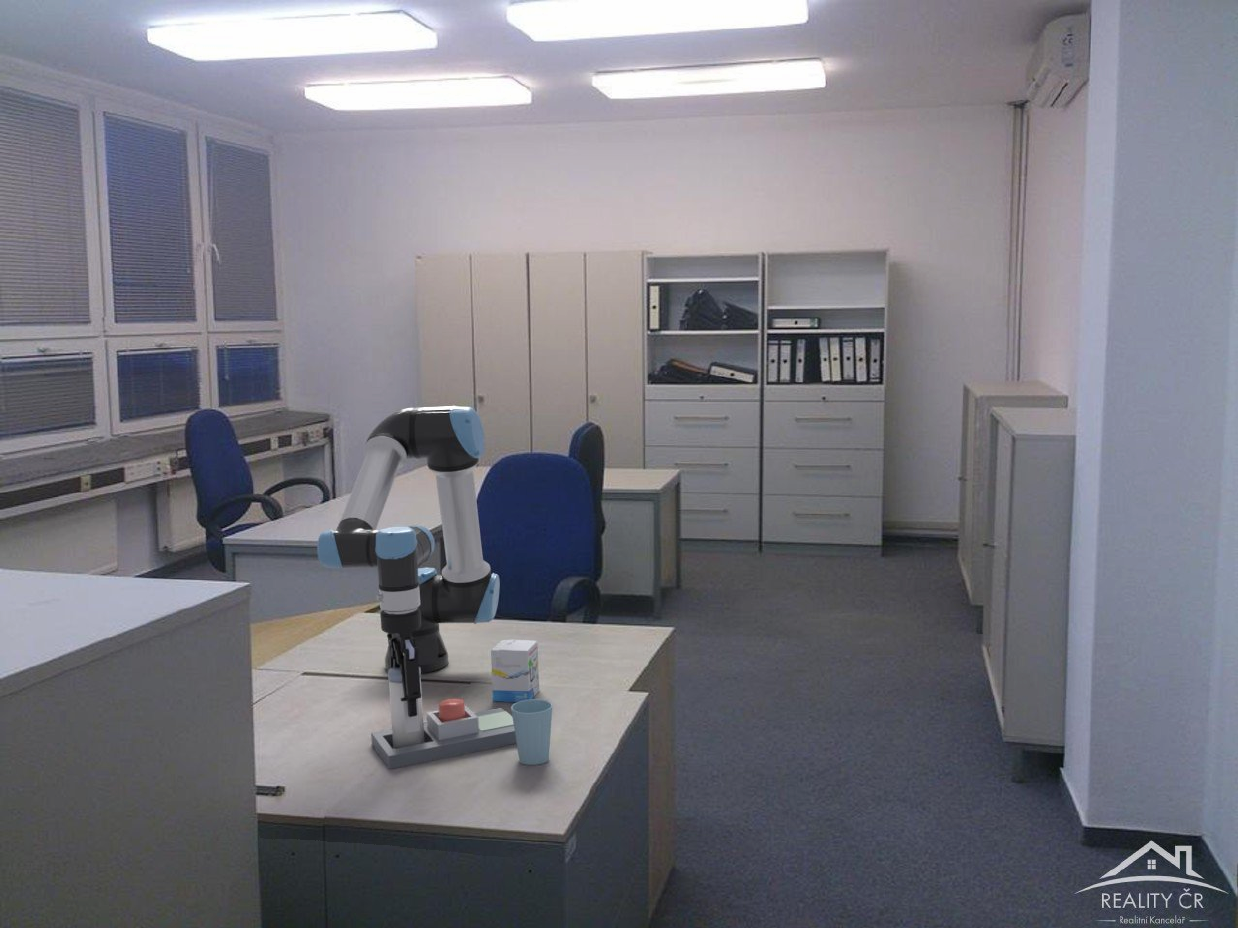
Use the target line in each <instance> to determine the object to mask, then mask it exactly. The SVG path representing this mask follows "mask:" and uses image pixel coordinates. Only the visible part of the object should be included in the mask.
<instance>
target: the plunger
mask: <svg viewBox="0 0 1238 928" xmlns="http://www.w3.org/2000/svg"><path fill="white" fill-rule="evenodd" d="M438 710H439V719H440V721H441V722H447V721H452V720H457V719H463V718H465V700H464V699H462V698H461V699H459V698H447V699H443V700H441V701H440V702H439V703H438Z"/></svg>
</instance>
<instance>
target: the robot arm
mask: <svg viewBox="0 0 1238 928" xmlns="http://www.w3.org/2000/svg"><path fill="white" fill-rule="evenodd" d="M485 448H486V447H485V432H484V427H483V423H482V420H481V418H480V416H479V414H478V412H477V411H476V409H474V408H473V407H472V406H458V405H448V406H446V405H445V406H426V407H425V406H424V407H423V406H422V407H415V406H412V407H405V408H402V409H399V410H397V411H395V412H393V413H392V414H390V415H388V416H387V417H385V419H383V420H382V421H381V422H379V424H377V426H376V427H375V428H374V429H373V430H372V431H371V433H370V434H369V435H368V437H367V439H366V442H365V444H364V447H363V456H364V459H363V462H362V464H361V466H360V470H359V472H358V474H357V477H356V480H355V482H354V484H353V488H352V490H351V492H350V495H349V498H348V501H347V502H346V505H345V508H344V510H343V513H342V514H341V515H342V516H341V518H340V520H339V523H338V524H337V528H336V529H330V530H324V531H323V532H321V533H320V535H319V536H318V540H317V549H316V550H317V557H318V561H319V563H320V564H321V565H322V567H325V568H328V569H329V568H330V569H342V570H343V569H363V568H377V579H378V581H377V582H378V592H379V594H376V600H378V601H379V607H380V610H382V611H381V612H380V628H381V631H382V632H384V633H386V634H387V635H386V637H387V642H388V646H387V650H386V653H385V657H384V667H385V670H386V671H387V672H388V670H389V669H391V668H393V667H395V668H396V667H400V669H401V675H402V684H403V691H404V698H401V701H403V711H404V726H405V733H410V732H415V731H420V725H419V709H418V698H421V692H422V689H421V690H420V677H419V667H420V668H421V674H425V673H431V672H435V671H438V670H441V669H442V668H445V667H446V666H448V664H449V654H448V650H447V648H446V645H445V643H444V640H443V638H442V635H441V632H440V624H474V625H476V624H480V623H481V624H482V623H489V622H492V620H493V619H494V618H495V616H496V614H497V609H498V604H499V597H500V587H501V586H500V585H501V584H500V583H501V582H500V581H501V580H500V576H499V575H498V574H497V573H494V572H492V571H491V570H492V569H491V565H490V564H489V563H488V562H487V561H485V560H484V557H483V549H482V540H481V530H480V522H479V521H480V520H479V512H478V503H477V494H476V493H477V492H476V483H475V476H474V475H475V473H474V469H475V468H476V467H477V465H478V464H479V462H480V461H479V458H481V457H483V455H484V453H485V450H486V449H485ZM412 459H413V460H414V459H419V460H420V459H423V460H424V459H425V460H426V462H427V463H426V464H427V467H428V470H429V471H431V472H432V473H434V474H435V480H436V481H435V482H436V488H437V496H438V504H439V511H440V512H439V513H440V520H441V527H442V528H441V529H442V534H443V535H442V536H443V542H444V543H443V544H444V553H445V559H446V565H445V566H443V568H442V570H441V574H438V571H437V570H436V568H434V567H420V566H421V565H423V564H424V563H426V562H427V561H428V560H429V559H430V557H431V555H432V554H433V553H434V551H435V547H436V545H435V544H436V541H435V538H434V535H433V534H432V532H431V531H430V530H429V529H428V528H426V527H425V526H422V525H418V524H417V525H411V526H393V527H391V526H390V527H386V528H381V529H377V528H378V526H379V522H380V520H381V518H382V515H383V513H384V509H385V506H386V504H387V501H388V498H389V496H390V493H391V490H392V487H393V484H394V482H395V479H396V476H397V473H398V471H399V470H400V469H401V468H403V467H404V466H405V464H406V462H407V461H408V460H412ZM419 567H420V568H419Z"/></svg>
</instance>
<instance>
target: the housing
mask: <svg viewBox="0 0 1238 928" xmlns="http://www.w3.org/2000/svg"><path fill="white" fill-rule="evenodd" d="M423 725H424V741H425V743H422V744H417V745H412V746H407V747H402V748H397V749H394V748H393V737H392V728H387V729H382V730H378V731H371V734H370V736H371V746H372V747H373V748H374V750H375V751H376V752H377V753H378V756H380V758H381V760H382V761H383V762H384V763H385V764H386V766H387V767H388V769H389V770H392V769H398V768H401V767H407V766H412V765H417V764H422V763H425V762H430V761H435V760H441V759H446V758H451V757H455V756H459V755H460V756H461V755H464V754H470V753H474V752H480V751H485V750H490V749H495V748H499V747H503V746H508V745H513V744H517V742H516V736H515V729H514V723H513V717H512V714H510V713H508V711H506V710H504V709H503V708H502V707H498V708H497V707H496V708H493V709H487V710H483V711H477V712H473V711H472V710H471V709H470V708H469V707H468V706H467V705H465V718H463V719H457V720H452V721H447V722H441V721H440V719H439V709H438V710H434V711H427V712H426V722H425V721H423Z"/></svg>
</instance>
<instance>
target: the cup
mask: <svg viewBox="0 0 1238 928" xmlns="http://www.w3.org/2000/svg"><path fill="white" fill-rule="evenodd" d="M510 710H511V716H512V717H513V723H514V729H515V736H516V742H517V743H516V746H517V753H518V758H519V759H518V760H519V762H520V763H521V764H524V765H526V766H527V765H528V766H537V765H542V764H545V763H546V762H548V761H549V759H550V747H551V732H552V731H551V730H552V716H553V703H552V702H550V701H549V700H545V699H539V698H538V699H536V698H535V699H534V698H532V699H531V700H524V701H520V702H514V703H513V704H512V705H511V707H510Z"/></svg>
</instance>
